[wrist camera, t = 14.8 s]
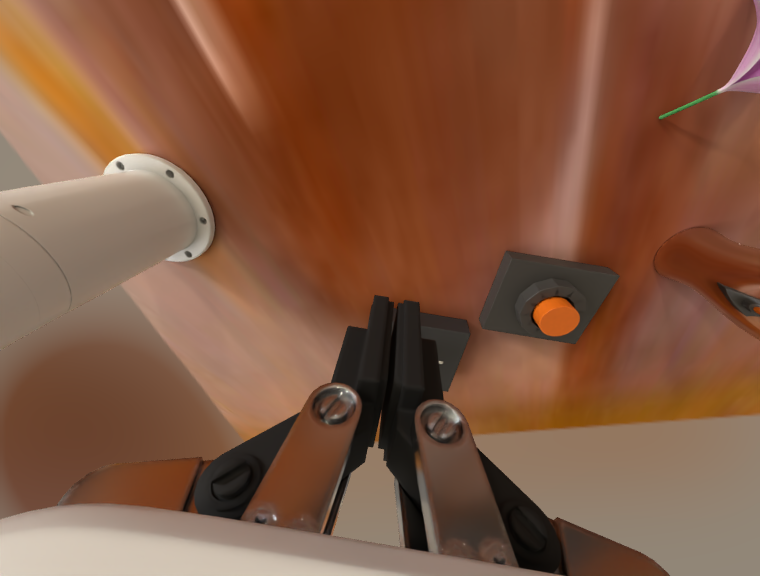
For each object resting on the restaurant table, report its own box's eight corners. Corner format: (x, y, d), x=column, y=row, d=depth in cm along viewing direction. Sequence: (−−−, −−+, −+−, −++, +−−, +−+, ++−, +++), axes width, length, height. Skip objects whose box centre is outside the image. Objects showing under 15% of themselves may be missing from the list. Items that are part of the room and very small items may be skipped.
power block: (478, 318, 38) (485, 338, 34) (505, 250, 33) (517, 265, 29) (566, 333, 38) (582, 354, 34) (607, 267, 33) (631, 283, 29)
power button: (526, 322, 33) (533, 333, 31) (541, 293, 31) (549, 303, 29) (560, 327, 33) (568, 339, 31) (577, 299, 31) (587, 310, 29)
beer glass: (704, 280, 32) (902, 383, 19) (638, 281, 33) (786, 381, 20) (738, 221, 29) (1007, 298, 16) (664, 223, 30) (862, 299, 17)
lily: (731, 154, 27) (948, 94, 18) (635, 194, 25) (818, 152, 16) (706, 23, 25) (932, -122, 16) (602, 56, 24) (785, -83, 14)
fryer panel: (363, 362, 44) (360, 378, 41) (371, 304, 38) (369, 318, 35) (445, 376, 43) (448, 392, 41) (466, 319, 38) (470, 334, 35)
